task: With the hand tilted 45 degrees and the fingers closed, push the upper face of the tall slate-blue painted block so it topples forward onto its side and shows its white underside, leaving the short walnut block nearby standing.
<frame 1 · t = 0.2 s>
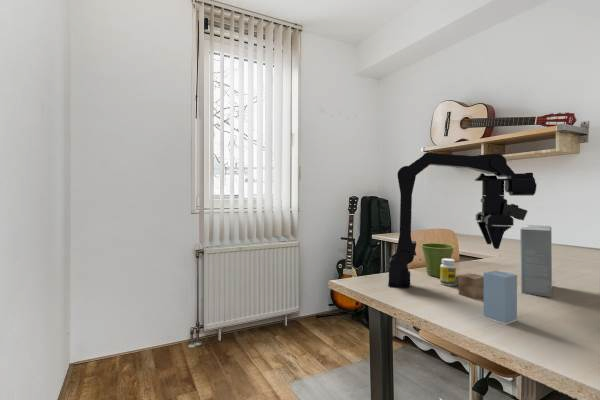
hand: (492, 246, 94), 14 cm above the table, tool pointing down, fingers open, 9 cm apart
walnut block: (471, 295, 92), on the table
supplement bottle: (447, 284, 104), on the table
stone block: (475, 288, 100), on the table
hard drive box: (536, 289, 98), on the table
plant pot: (437, 275, 116), on the table
slate block: (500, 318, 74), on the table
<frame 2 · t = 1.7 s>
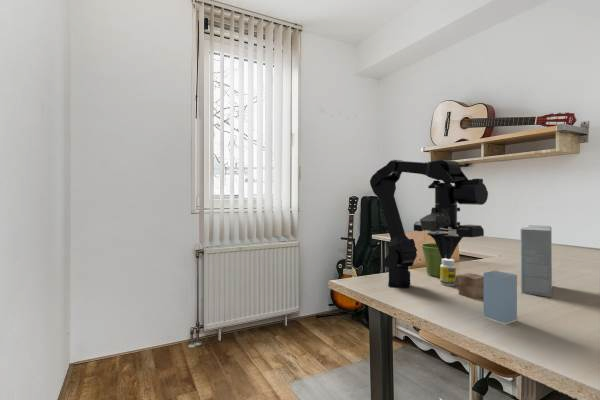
hand: (445, 258, 88), 12 cm above the table, tool pointing down, fingers closed
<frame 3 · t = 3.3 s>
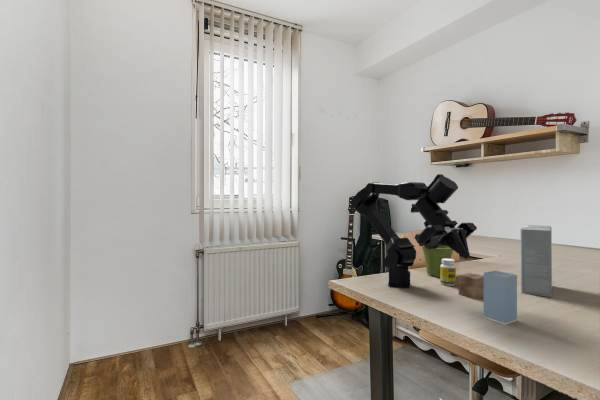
hand: (467, 257, 81), 13 cm above the table, tool tilted 45°, fingers closed
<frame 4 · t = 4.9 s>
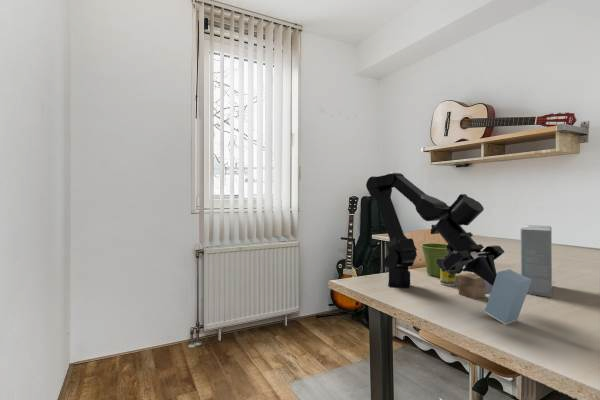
hand: (497, 286, 75), 8 cm above the table, tool tilted 45°, fingers closed
slate block: (500, 316, 74), point 1 cm above the table, tilted 17°
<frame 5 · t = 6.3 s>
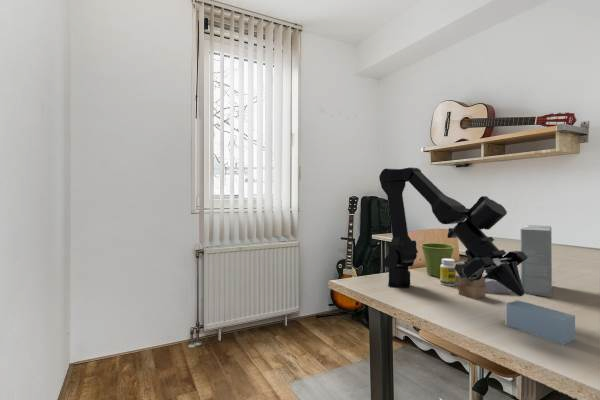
hand: (522, 295, 70), 7 cm above the table, tool tilted 45°, fingers closed
slate block: (511, 312, 72), point 2 cm above the table, tilted 90°
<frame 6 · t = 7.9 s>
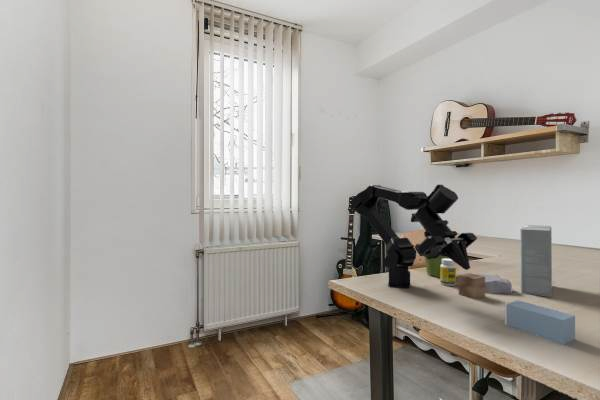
hand: (468, 269, 81), 10 cm above the table, tool tilted 45°, fingers closed
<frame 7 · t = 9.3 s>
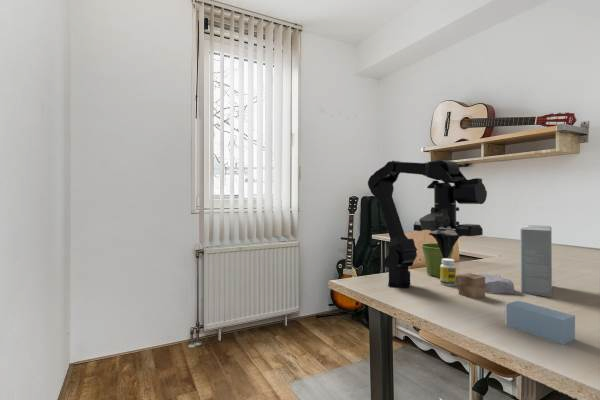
hand: (445, 257, 88), 12 cm above the table, tool pointing down, fingers closed
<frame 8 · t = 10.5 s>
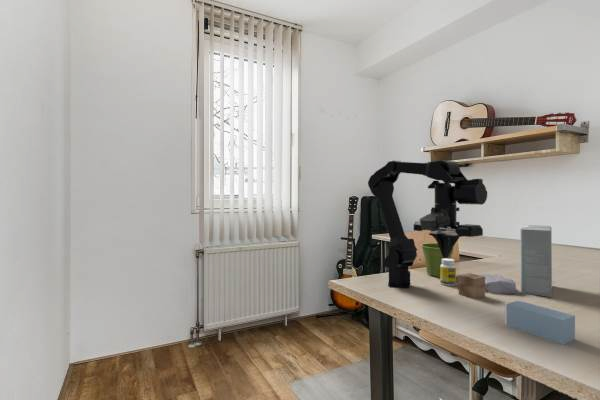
hand: (445, 257, 88), 12 cm above the table, tool pointing down, fingers closed
at the end: slate block tilted 90°; slate block inside the target area (1.6 cm from its centre), point 2.4 cm above the table; walnut block tilted 0° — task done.
